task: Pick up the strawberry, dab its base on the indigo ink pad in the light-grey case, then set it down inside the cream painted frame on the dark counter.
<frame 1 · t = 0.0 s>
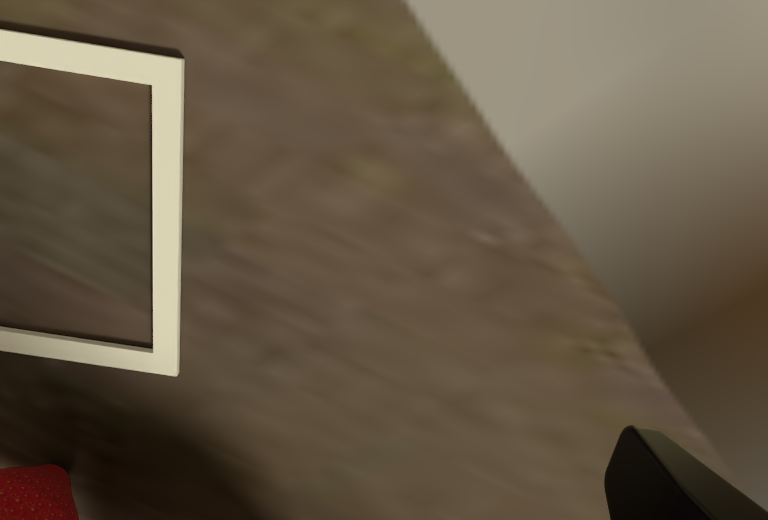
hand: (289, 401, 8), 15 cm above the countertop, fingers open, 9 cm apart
print frame: (38, 211, 23), on the countertop
strawberry: (63, 466, 28), on the countertop
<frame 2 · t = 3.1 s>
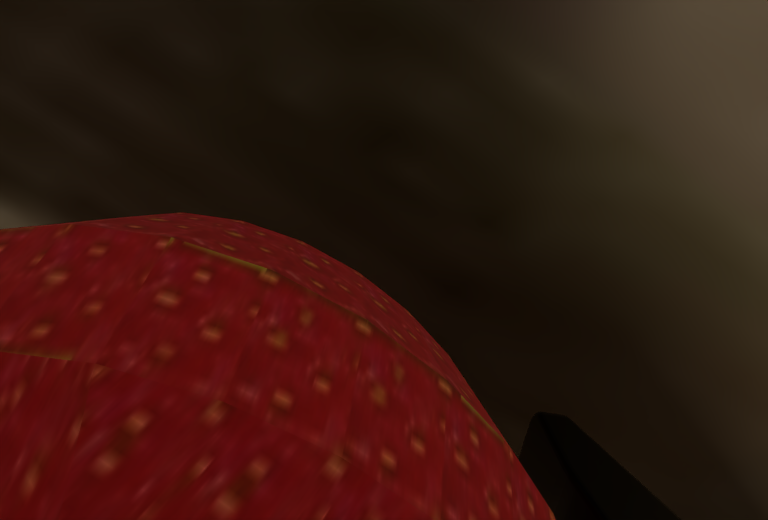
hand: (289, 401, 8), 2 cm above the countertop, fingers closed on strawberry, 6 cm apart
strawberry: (314, 313, 10), on the countertop, touching gripper
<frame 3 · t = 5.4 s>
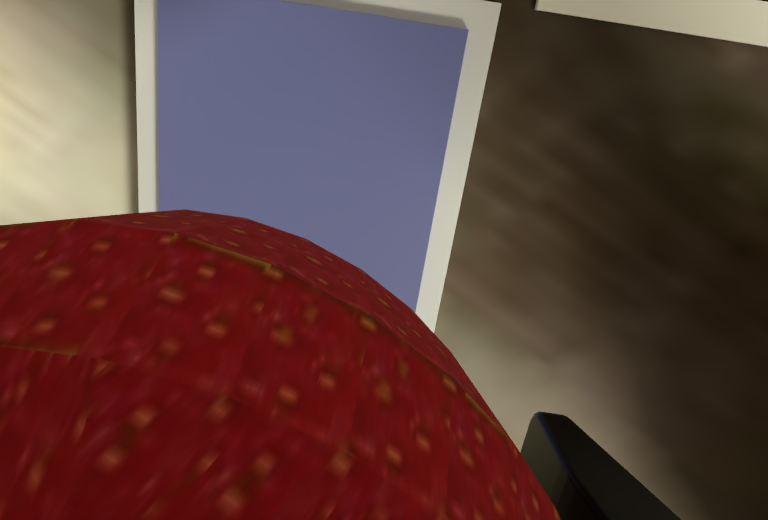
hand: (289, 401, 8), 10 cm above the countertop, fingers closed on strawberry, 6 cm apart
ink pad: (304, 181, 17), on the countertop
strawberry: (315, 311, 10), point 8 cm above the countertop, touching gripper
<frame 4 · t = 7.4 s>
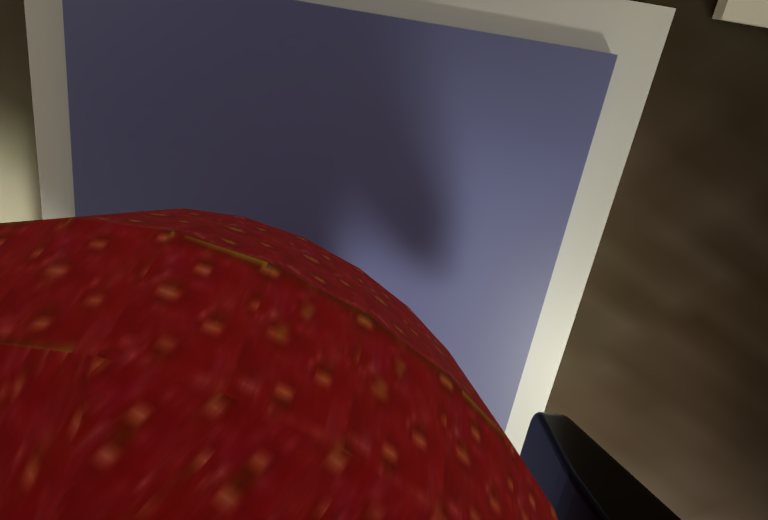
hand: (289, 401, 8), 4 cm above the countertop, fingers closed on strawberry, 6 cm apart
ink pad: (317, 282, 11), on the countertop
strawberry: (314, 311, 10), point 1 cm above the countertop, touching gripper, ink pad
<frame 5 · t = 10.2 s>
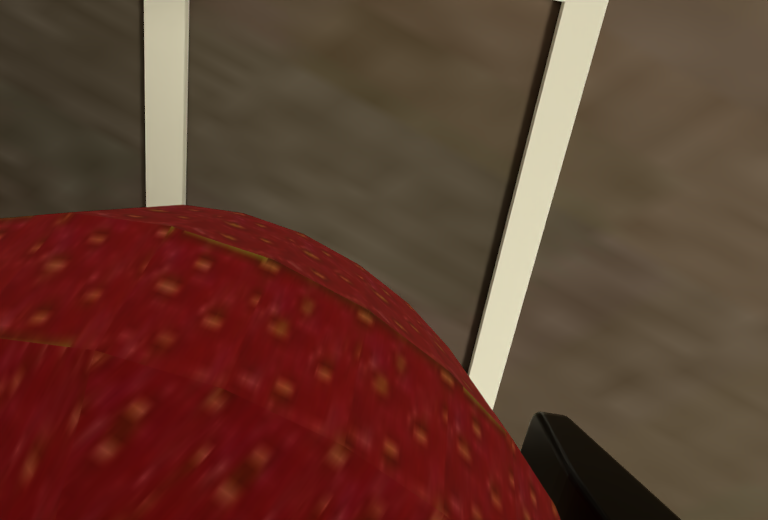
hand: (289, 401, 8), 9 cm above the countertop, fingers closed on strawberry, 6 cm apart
print frame: (348, 188, 16), on the countertop
strawberry: (314, 309, 10), point 7 cm above the countertop, touching gripper
when the fingers open (3 cm above the countertop, at t = 12.1 s): strawberry stays where it is, on the countertop.
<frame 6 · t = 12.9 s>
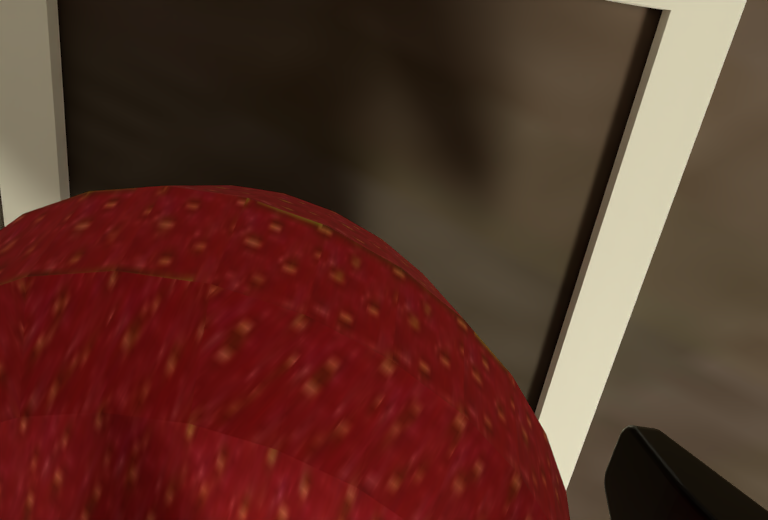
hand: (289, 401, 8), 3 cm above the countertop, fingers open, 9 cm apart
print frame: (320, 292, 11), on the countertop
strawberry: (325, 288, 11), on the countertop
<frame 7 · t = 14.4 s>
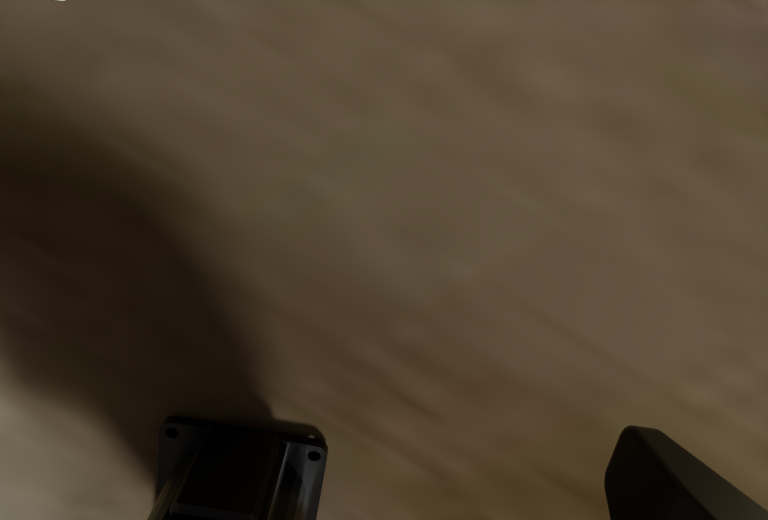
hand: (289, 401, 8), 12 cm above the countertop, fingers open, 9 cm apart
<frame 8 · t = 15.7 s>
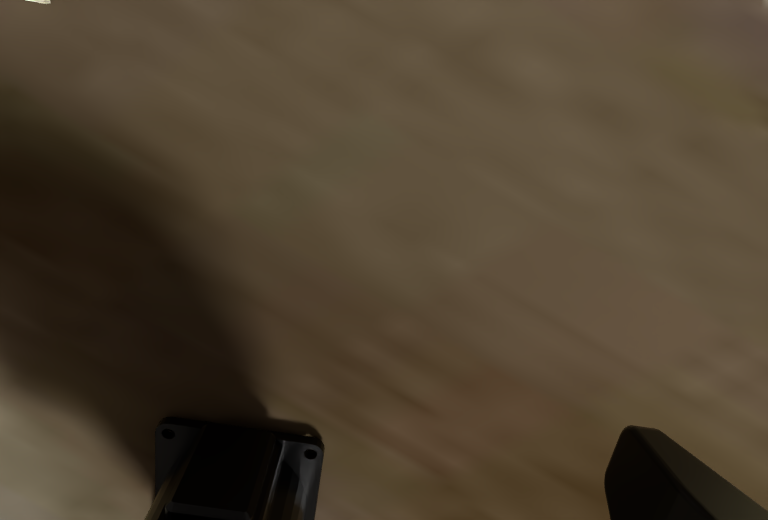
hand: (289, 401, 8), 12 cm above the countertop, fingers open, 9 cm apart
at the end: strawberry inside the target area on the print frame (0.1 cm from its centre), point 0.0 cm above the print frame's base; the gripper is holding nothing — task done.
